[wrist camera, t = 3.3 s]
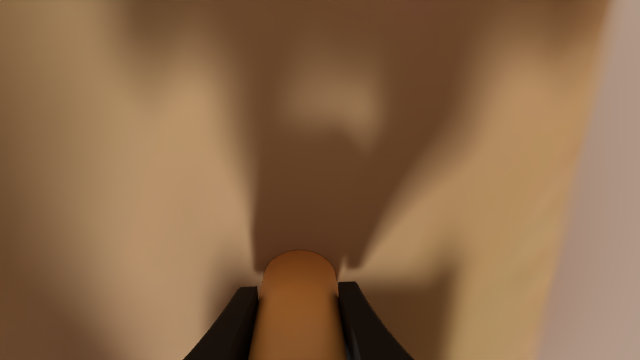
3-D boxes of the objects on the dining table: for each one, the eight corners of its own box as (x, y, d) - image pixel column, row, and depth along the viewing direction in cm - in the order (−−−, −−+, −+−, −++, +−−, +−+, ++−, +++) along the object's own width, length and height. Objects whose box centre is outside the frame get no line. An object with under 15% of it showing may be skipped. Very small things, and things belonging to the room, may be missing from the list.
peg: (248, 287, 14) (219, 407, 9) (292, 236, 13) (284, 338, 8) (306, 321, 15) (307, 448, 10) (351, 275, 14) (374, 389, 9)
